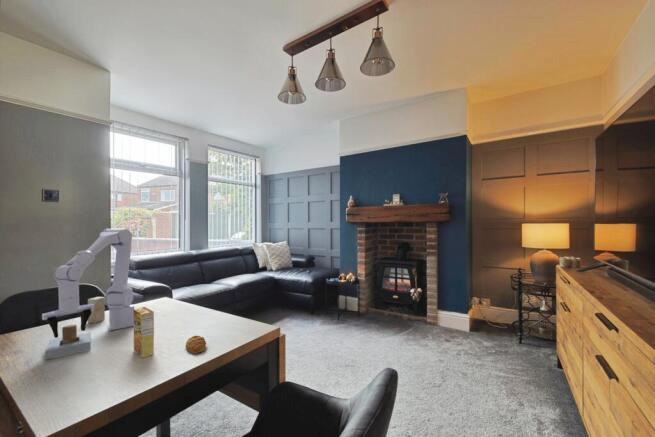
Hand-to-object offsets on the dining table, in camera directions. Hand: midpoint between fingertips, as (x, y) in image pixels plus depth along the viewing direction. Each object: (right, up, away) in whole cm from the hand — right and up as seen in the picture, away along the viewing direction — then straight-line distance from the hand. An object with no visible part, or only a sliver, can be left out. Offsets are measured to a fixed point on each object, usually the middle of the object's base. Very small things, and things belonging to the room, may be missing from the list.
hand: (69, 333), depth 109 cm
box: (-14, -6, +30) cm, 33 cm away
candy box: (+30, -6, -4) cm, 31 cm away
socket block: (0, -6, 0) cm, 6 cm away
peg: (0, -5, 0) cm, 5 cm away
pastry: (+48, -6, -1) cm, 48 cm away
